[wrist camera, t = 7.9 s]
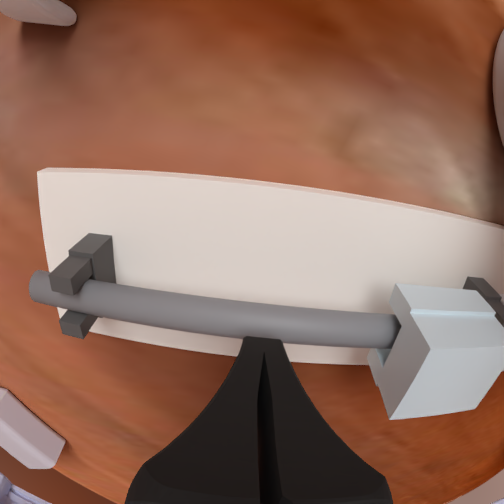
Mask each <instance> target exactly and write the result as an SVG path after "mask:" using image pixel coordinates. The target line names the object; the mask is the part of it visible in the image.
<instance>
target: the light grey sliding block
mask: <svg viewBox="0 0 504 504" xmlns="http://www.w3.org/2000/svg"><path fill="white" fill-rule="evenodd" d="M389 304H390V305H391V307H392V309H393V311H394V313H395V315H396V316H397V318H398V320H399V322H400V324H401V329H400V331H399V333H398V336H397V338H396V340H395V343H394V345H393V347H392V349H379V348H371V349H370V351H369V354H368V356H367V360H368V363H369V366H370V369H371V372H372V375H373V378H374V381H375V384H376V386H379V389H380V392H381V395H382V398H383V402H384V405H385V408H386V411H387V414H388V418H389V420H394V419H406V418H416V417H425V416H433V415H441V414H448V413H454V412H461V411H466V410H472V409H475V408H476V407H477V406H478V404H479V403H480V401H481V400H482V399H483V397H484V396H485V395H486V393H487V392H488V390H489V389H490V388H491V386H492V385H493V383H494V382H495V380H496V379H497V377H498V376H499V374H500V373H501V371H502V370H503V368H504V327H503V326H502V325H501V324H500V322H499V321H498V320H497V319H496V318H495V314H496V312H495V311H494V310H493V308H492V307H491V306H490V305H489V304H488V303H487V302H486V300H485V299H484V298H483V297H482V296H481V295H480V294H479V293H478V292H477V291H476V290H465V289H454V288H443V287H432V286H422V285H411V284H401V283H395V286H394V289H393V292H392V294H391V297H390V300H389Z"/></svg>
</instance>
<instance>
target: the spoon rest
mask: <svg viewBox="0 0 504 504" xmlns="http://www.w3.org/2000/svg"><path fill="white" fill-rule="evenodd" d="M0 12H1V13H3V14H4V15H6V16H8V17H10V18H12V19H15V20H18V21H23V22H31V23H41V24H50V25H59V26H70V25H72V24H74V23H75V22H76V17H77V15H76V13H75V12H74V10H73V9H72V8H70V7H69V6H67V5H66V4H64V3H63V2H61V1H59V0H0Z"/></svg>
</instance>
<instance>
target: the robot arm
mask: <svg viewBox="0 0 504 504" xmlns="http://www.w3.org/2000/svg"><path fill="white" fill-rule="evenodd" d="M0 504H51V503H49V502H47V501H45V500H43V499H41V498H38V497H36V496H34V495H32V494H30V493H29V492H26V491H25V490H23V489H21V488H19V487H17V486H15V485H14V484H12V483H11V481H10V480H9V479H8V478H7V477H6V476H4V475H3V474H2V473H0ZM125 504H393V500H392V495H391V492H390V489H389V486H388V483H387V481H386V478H385V477H384V476H383V475H382V474H380V473H379V472H378V471H376V470H375V469H374V468H372V467H371V466H370V465H368V464H367V463H366V462H364V461H363V460H362V459H361V458H360V457H359V456H358V455H357V454H355V453H354V452H353V451H352V450H351V449H350V448H349V447H348V446H347V445H346V444H345V443H344V442H343V441H342V440H341V439H340V437H339V436H338V435H337V434H336V433H335V432H334V431H333V430H332V429H331V427H330V426H329V425H328V424H327V423H326V421H325V420H324V419H323V417H322V416H321V415H320V413H319V412H318V411H317V409H316V408H315V406H314V405H313V403H312V402H311V400H310V398H309V397H308V395H307V394H306V392H305V390H304V388H303V387H302V385H301V383H300V381H299V379H298V377H297V375H296V373H295V371H294V369H293V367H292V365H291V363H290V361H289V358H288V356H287V353H286V351H285V348H284V345H283V342H282V341H281V340H280V339H272V338H262V337H252V336H246V337H244V338H243V341H242V345H241V348H240V351H239V354H238V356H237V358H236V361H235V363H234V364H233V366H232V368H231V370H230V372H229V374H228V376H227V377H226V379H225V381H224V382H223V384H222V385H221V387H220V388H219V390H218V391H217V393H216V394H215V396H214V397H213V398H212V400H211V401H210V402H209V404H208V405H207V406H206V407H205V409H204V410H203V411H202V412H201V413H200V415H199V416H198V417H197V418H196V419H195V420H194V421H193V422H192V423H191V424H190V425H189V426H188V427H187V428H186V429H185V430H184V431H183V432H182V433H181V434H180V435H179V436H178V437H177V438H176V439H174V440H173V441H172V442H171V443H170V444H169V445H168V446H166V447H165V448H164V449H163V450H161V451H160V452H159V453H157V454H156V455H155V456H153V457H152V458H150V459H149V460H148V461H146V462H145V463H144V464H143V465H142V467H141V468H140V470H139V471H138V473H137V474H136V476H135V477H134V479H133V481H132V483H131V485H130V488H129V490H128V494H127V497H126V501H125ZM491 504H504V498H502V499H500V500H498V501H495V502H493V503H491Z"/></svg>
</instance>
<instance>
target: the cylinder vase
mask: <svg viewBox="0 0 504 504" xmlns="http://www.w3.org/2000/svg"><path fill="white" fill-rule="evenodd" d="M493 98H494V107H495V114H496V120H497V124H498V129H499V133H500V137H501V140H502V144H503V147H504V30H503V31H502V33H501V35H500V38H499V40H498V43H497V47H496V51H495V56H494V64H493Z"/></svg>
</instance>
